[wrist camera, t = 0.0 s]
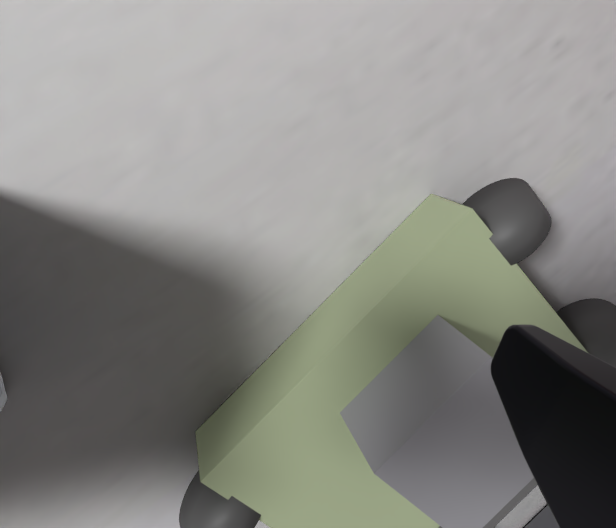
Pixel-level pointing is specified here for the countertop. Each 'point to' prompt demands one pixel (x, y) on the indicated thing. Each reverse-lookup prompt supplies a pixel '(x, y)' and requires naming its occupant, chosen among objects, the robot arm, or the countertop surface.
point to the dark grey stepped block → (543, 520)
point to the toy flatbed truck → (395, 384)
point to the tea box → (2, 393)
